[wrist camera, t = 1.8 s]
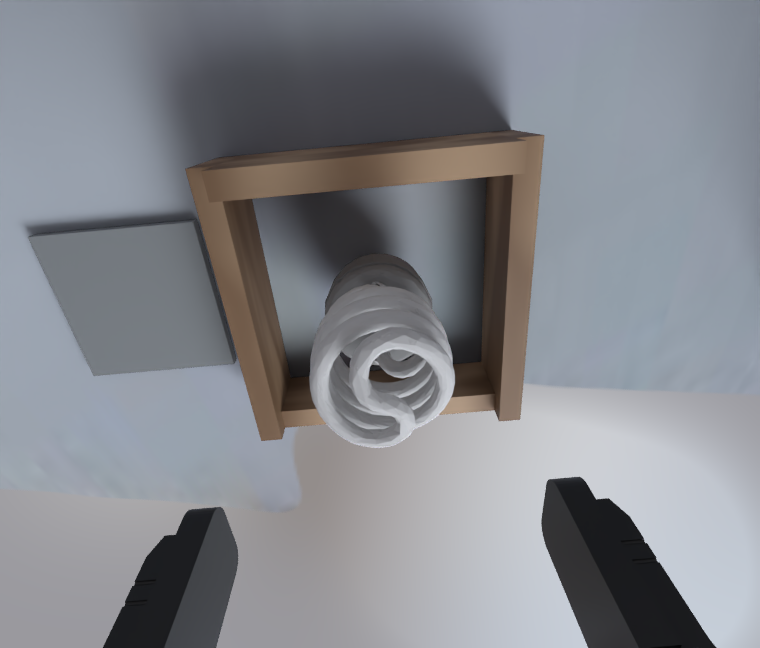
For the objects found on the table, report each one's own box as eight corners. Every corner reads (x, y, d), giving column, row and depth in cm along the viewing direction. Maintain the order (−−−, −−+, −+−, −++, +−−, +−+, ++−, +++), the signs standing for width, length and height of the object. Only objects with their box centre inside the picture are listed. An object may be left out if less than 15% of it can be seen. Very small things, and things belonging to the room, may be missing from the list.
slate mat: (196, 219, 23) (193, 221, 23) (236, 358, 27) (233, 364, 27) (35, 234, 23) (27, 237, 23) (99, 370, 27) (93, 375, 27)
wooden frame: (511, 130, 21) (558, 137, 16) (498, 375, 28) (528, 437, 23) (219, 157, 22) (170, 174, 16) (276, 394, 29) (255, 459, 23)
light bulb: (431, 313, 26) (475, 456, 15) (342, 331, 26) (325, 482, 16) (416, 224, 24) (455, 321, 13) (318, 245, 24) (278, 356, 13)
